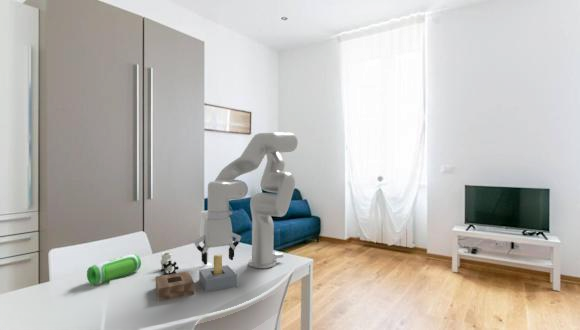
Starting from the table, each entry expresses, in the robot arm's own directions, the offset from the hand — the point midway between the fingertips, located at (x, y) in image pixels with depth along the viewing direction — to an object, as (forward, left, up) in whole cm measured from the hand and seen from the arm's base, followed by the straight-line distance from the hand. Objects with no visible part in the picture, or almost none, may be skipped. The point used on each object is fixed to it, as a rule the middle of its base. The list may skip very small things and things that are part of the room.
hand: (218, 261), depth 113 cm
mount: (+15, 0, -9) cm, 18 cm away
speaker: (+34, -24, -10) cm, 43 cm away
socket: (0, 0, -9) cm, 9 cm away
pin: (0, 0, -8) cm, 8 cm away
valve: (+15, -22, -9) cm, 28 cm away
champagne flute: (-1, -21, -9) cm, 23 cm away
